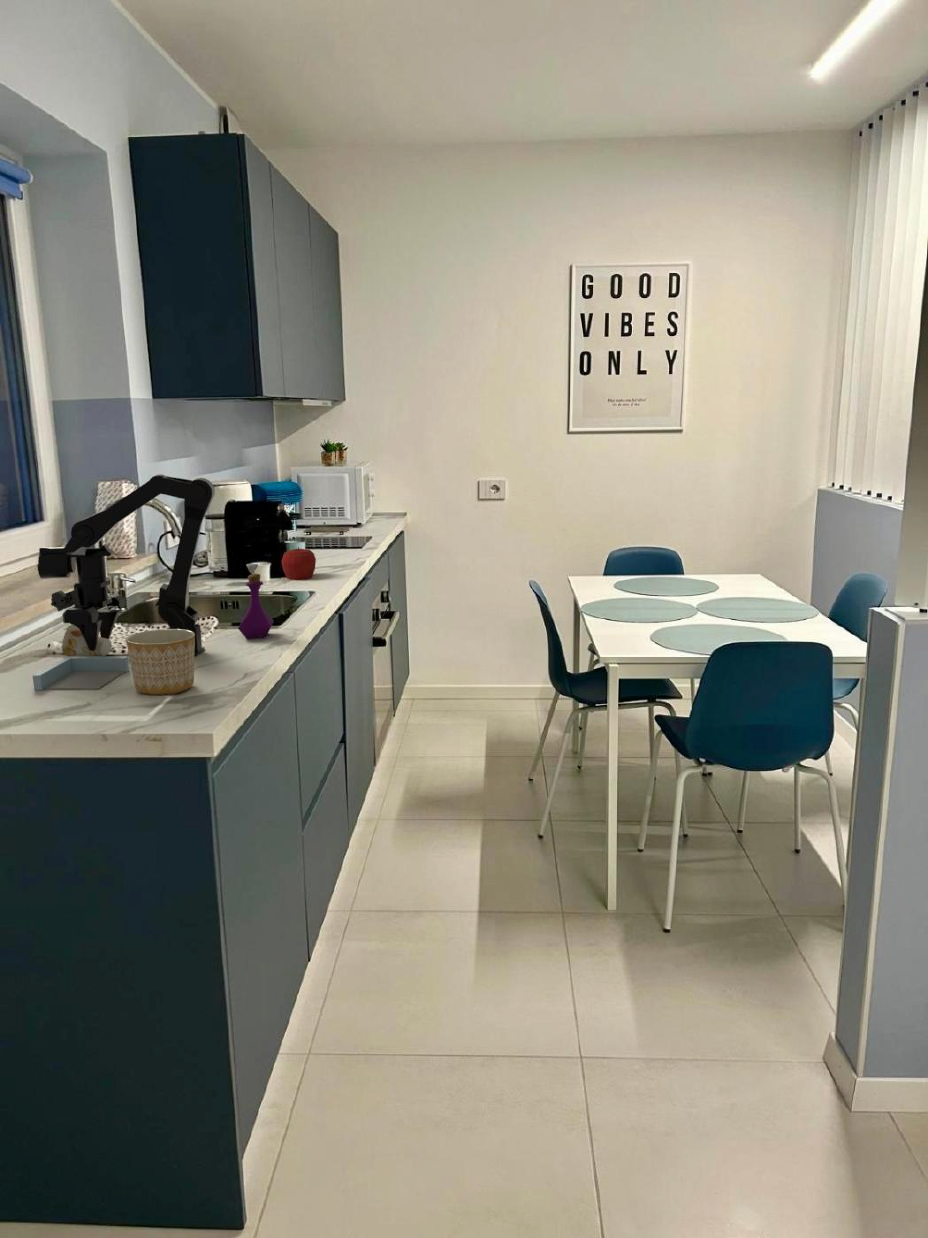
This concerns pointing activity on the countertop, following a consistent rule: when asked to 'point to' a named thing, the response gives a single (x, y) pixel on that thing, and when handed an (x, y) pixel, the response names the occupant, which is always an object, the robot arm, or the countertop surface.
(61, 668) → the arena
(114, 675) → the mat
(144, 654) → the planter
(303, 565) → the apple
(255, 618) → the perfume bottle
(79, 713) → the countertop surface
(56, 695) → the countertop surface
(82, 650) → the mug
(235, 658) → the countertop surface
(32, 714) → the countertop surface
